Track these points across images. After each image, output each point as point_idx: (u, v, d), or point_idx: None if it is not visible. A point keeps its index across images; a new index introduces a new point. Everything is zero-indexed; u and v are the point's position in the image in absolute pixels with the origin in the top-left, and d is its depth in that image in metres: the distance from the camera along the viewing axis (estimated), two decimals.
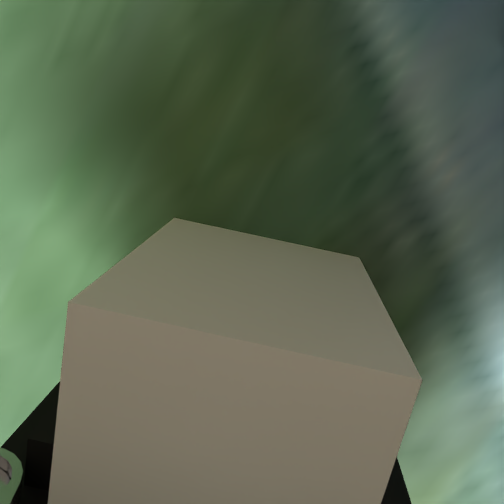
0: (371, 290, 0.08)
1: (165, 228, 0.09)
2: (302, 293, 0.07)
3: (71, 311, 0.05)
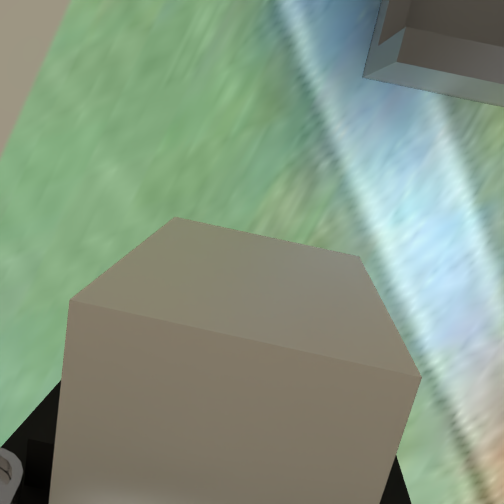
0: (371, 289, 0.08)
1: (165, 227, 0.09)
2: (302, 291, 0.07)
3: (71, 309, 0.05)
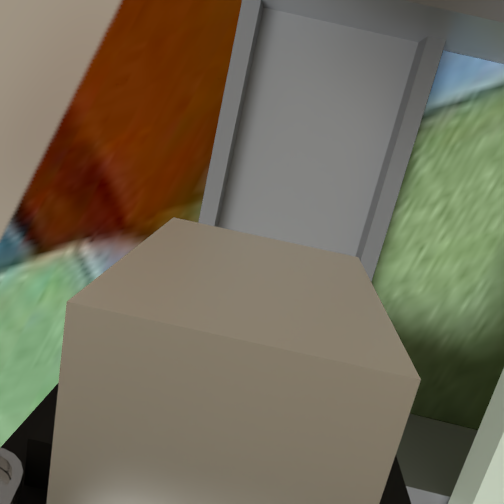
0: (370, 290, 0.08)
1: (164, 228, 0.09)
2: (301, 292, 0.07)
3: (69, 311, 0.05)
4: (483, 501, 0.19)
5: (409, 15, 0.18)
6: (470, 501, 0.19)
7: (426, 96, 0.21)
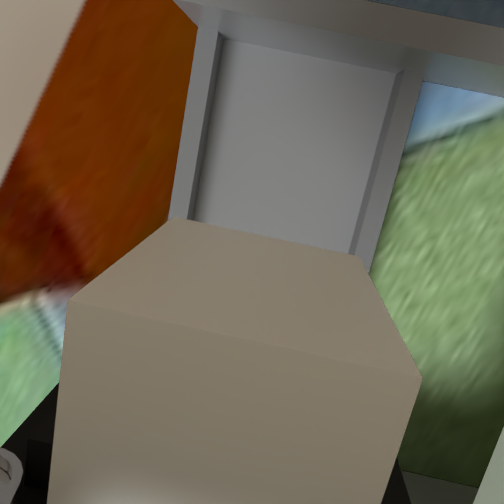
0: (371, 289, 0.08)
1: (165, 227, 0.09)
2: (302, 291, 0.07)
3: (70, 310, 0.05)
4: None
5: (380, 51, 0.16)
6: None
7: (405, 135, 0.19)
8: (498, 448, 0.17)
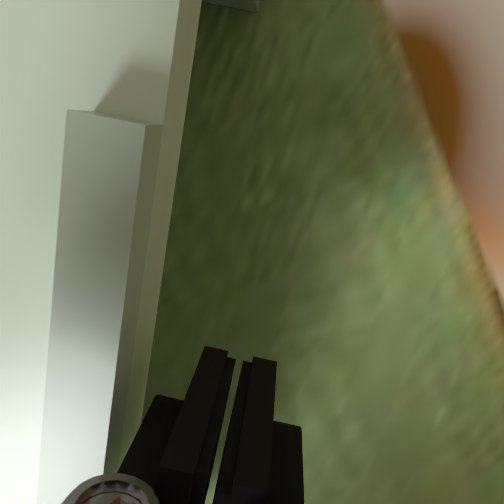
0: None
1: None
2: None
3: None
4: None
5: None
6: None
7: None
8: None
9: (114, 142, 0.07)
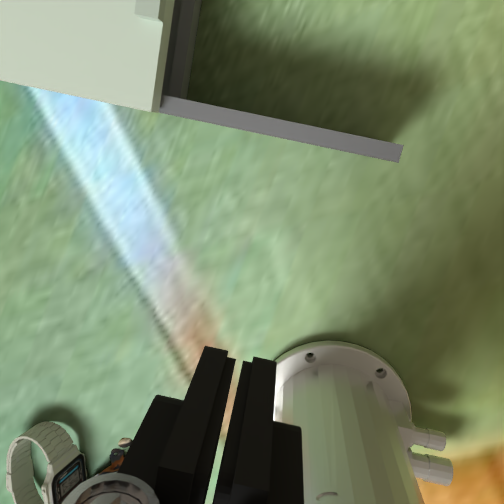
0: None
1: None
2: None
3: None
4: None
5: None
6: None
7: None
8: None
9: None
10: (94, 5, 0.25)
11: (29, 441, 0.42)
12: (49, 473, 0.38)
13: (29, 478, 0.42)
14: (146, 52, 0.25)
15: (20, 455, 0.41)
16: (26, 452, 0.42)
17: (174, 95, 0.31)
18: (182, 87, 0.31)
